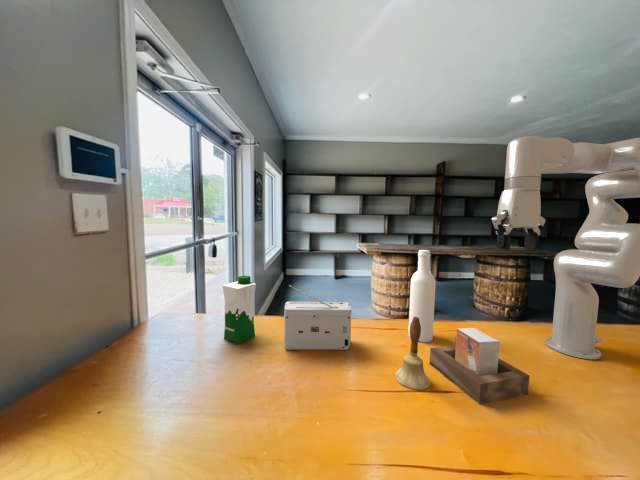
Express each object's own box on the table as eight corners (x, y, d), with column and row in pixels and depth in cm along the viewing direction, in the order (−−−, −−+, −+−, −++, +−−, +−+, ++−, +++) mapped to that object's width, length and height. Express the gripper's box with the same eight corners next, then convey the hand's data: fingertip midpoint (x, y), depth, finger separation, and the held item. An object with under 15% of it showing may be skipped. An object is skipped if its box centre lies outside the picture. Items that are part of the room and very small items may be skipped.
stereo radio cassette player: (348, 339, 84) (350, 280, 83) (352, 352, 76) (354, 286, 74) (285, 339, 83) (285, 279, 82) (282, 352, 75) (282, 286, 74)
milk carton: (258, 335, 86) (258, 277, 84) (237, 346, 78) (237, 282, 77) (241, 329, 90) (240, 274, 89) (219, 339, 83) (218, 278, 81)
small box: (453, 366, 68) (456, 327, 67) (472, 364, 68) (475, 327, 68) (476, 385, 60) (479, 342, 59) (497, 383, 61) (500, 340, 60)
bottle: (435, 343, 82) (440, 252, 80) (409, 341, 84) (414, 251, 81) (429, 333, 90) (434, 249, 88) (406, 331, 91) (410, 248, 89)
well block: (470, 357, 74) (471, 342, 73) (528, 394, 58) (529, 375, 58) (429, 363, 70) (430, 348, 70) (479, 404, 55) (480, 384, 54)
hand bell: (428, 373, 66) (431, 313, 65) (431, 393, 58) (435, 326, 57) (395, 367, 68) (397, 309, 67) (394, 385, 60) (396, 320, 59)
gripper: (531, 189, 73) (526, 247, 74) (483, 186, 69) (479, 248, 70) (561, 185, 66) (556, 250, 67) (510, 181, 62) (505, 251, 63)
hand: (517, 249), depth 69 cm, fingers open, 9 cm apart
